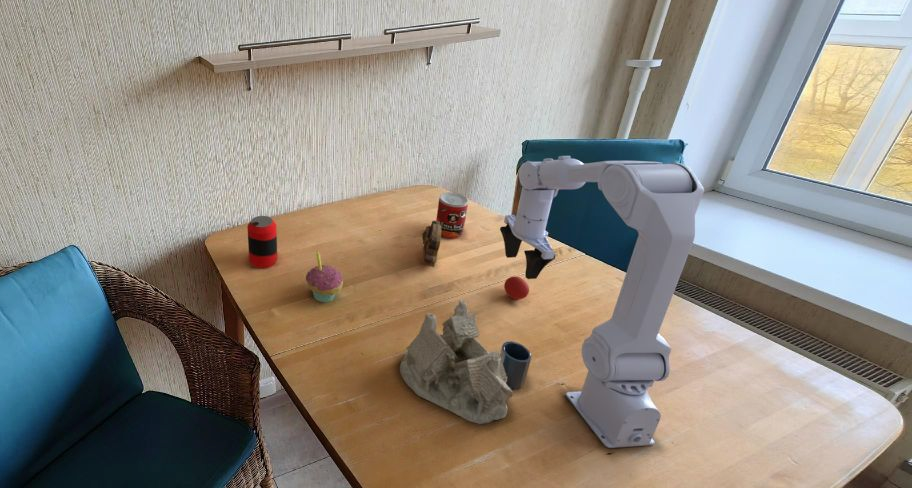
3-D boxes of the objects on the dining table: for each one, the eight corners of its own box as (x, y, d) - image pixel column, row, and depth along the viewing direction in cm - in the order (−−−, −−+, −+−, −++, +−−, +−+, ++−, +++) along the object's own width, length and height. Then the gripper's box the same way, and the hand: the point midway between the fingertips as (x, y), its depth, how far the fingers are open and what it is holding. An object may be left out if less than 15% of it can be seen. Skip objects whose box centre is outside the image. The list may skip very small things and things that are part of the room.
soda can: (243, 258, 115) (241, 220, 111) (266, 248, 119) (264, 211, 115) (260, 272, 109) (258, 232, 105) (282, 261, 114) (282, 222, 109)
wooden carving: (417, 240, 121) (421, 209, 118) (434, 242, 120) (438, 211, 117) (421, 276, 106) (425, 242, 103) (440, 278, 105) (445, 244, 102)
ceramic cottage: (391, 353, 84) (403, 295, 78) (470, 347, 86) (487, 291, 80) (424, 433, 70) (441, 371, 64) (517, 425, 72) (543, 364, 66)
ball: (531, 303, 97) (536, 285, 95) (510, 304, 97) (514, 286, 95) (518, 288, 101) (522, 271, 100) (498, 289, 101) (501, 272, 99)
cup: (529, 388, 77) (537, 361, 74) (505, 389, 77) (511, 362, 74) (514, 366, 81) (521, 340, 79) (491, 368, 81) (497, 342, 79)
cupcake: (300, 300, 99) (300, 257, 95) (314, 279, 106) (315, 238, 102) (335, 312, 95) (337, 268, 91) (347, 289, 102) (349, 247, 98)
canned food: (435, 237, 122) (440, 203, 118) (434, 223, 130) (438, 190, 126) (464, 241, 120) (470, 206, 116) (461, 226, 127) (466, 193, 123)
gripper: (574, 231, 84) (559, 287, 89) (529, 197, 98) (518, 247, 103) (540, 233, 84) (527, 289, 89) (499, 198, 98) (490, 248, 102)
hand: (520, 266), depth 96 cm, fingers open, 7 cm apart
